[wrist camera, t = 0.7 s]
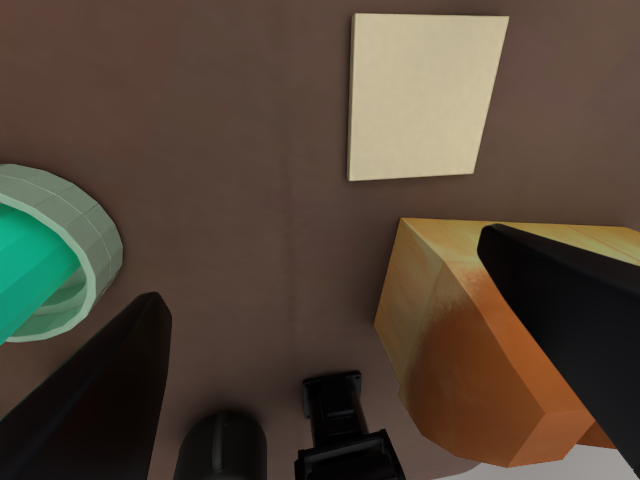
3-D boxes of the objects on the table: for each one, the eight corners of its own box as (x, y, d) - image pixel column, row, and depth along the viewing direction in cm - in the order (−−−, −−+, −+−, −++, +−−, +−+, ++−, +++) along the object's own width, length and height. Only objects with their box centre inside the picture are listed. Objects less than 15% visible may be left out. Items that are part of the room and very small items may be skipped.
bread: (368, 327, 30) (446, 509, 17) (396, 213, 25) (540, 357, 12) (569, 320, 35) (746, 458, 22) (631, 224, 30) (913, 333, 17)
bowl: (142, 290, 24) (119, 330, 20) (-6, 305, 23) (-63, 352, 19) (95, 158, 19) (52, 177, 15) (-99, 167, 18) (-202, 190, 14)
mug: (265, 447, 37) (265, 521, 31) (187, 456, 35) (171, 536, 29) (269, 382, 32) (270, 455, 25) (177, 388, 30) (154, 468, 24)
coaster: (467, 171, 24) (473, 173, 23) (346, 178, 23) (349, 181, 22) (501, 18, 19) (510, 15, 19) (351, 15, 18) (354, 12, 17)
